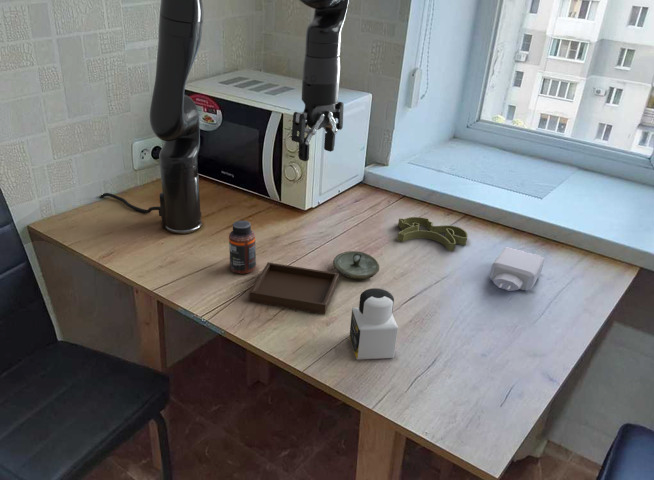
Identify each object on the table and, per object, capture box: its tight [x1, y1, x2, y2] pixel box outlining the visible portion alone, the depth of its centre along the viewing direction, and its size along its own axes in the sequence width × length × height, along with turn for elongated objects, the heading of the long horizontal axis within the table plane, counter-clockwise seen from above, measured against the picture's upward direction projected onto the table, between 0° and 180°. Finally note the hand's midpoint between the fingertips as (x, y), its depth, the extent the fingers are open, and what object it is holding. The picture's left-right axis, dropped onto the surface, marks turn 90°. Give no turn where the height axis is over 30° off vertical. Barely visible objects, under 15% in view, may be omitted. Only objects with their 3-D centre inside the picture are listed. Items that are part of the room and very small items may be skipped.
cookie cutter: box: [397, 216, 468, 252], centre depth 155 cm, size 18×12×2 cm, turn 66°
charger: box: [488, 247, 545, 292], centre depth 135 cm, size 5×9×15 cm
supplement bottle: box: [228, 220, 257, 275], centre depth 138 cm, size 6×6×11 cm
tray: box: [248, 262, 340, 315], centre depth 132 cm, size 16×13×2 cm
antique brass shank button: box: [332, 250, 380, 280], centre depth 139 cm, size 11×10×5 cm
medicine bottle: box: [348, 287, 399, 361], centre depth 112 cm, size 7×7×12 cm
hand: (316, 155), depth 132 cm, fingers open, 8 cm apart
